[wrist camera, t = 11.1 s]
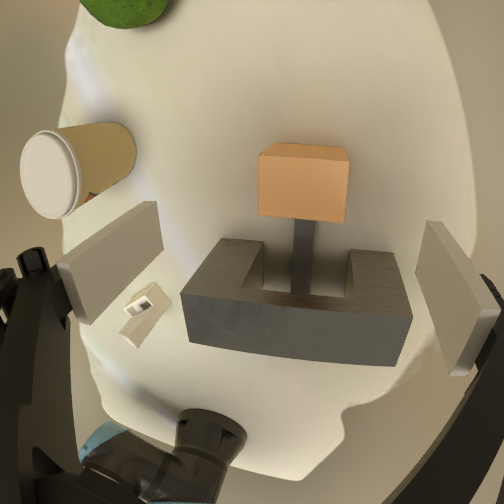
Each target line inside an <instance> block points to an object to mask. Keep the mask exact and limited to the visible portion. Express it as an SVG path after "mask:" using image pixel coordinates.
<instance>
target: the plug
mask: <svg viewBox="0 0 504 504" xmlns="http://www.w3.org/2000/svg"><path fill="white" fill-rule="evenodd" d="M348 174H349V159H348V157H347V154H346V151H345V148H343V147H333V146H321V145H307V144H291V143H274V144H273V145H271V146H270V147H269V148H267V149H266V150H265V151H263V152H262V153H261V154H259V155H258V215H259V216H271V217H283V218H295V231H294V249H293V266H292V281H291V293H297V294H307V295H308V293H309V283H310V274H311V264H312V253H313V241H314V229H315V220H316V221H326V222H336V223H344V216H345V206H346V196H347V186H348Z"/></svg>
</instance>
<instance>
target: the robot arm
mask: <svg viewBox="0 0 504 504" xmlns="http://www.w3.org/2000/svg"><path fill="white" fill-rule="evenodd" d="M163 250H164V248H163V242H162V236H161V229H160V223H159V216H158V209H157V201H144V202H142V203H140V204H139V205H137V206H136V207H134V208H133V209H131V210H129V211H128V212H126V213H125V214H123V215H122V216H120V217H119V218H117V219H116V220H114V221H113V222H111V223H110V224H108V225H107V226H105V227H104V228H102V229H101V230H99V231H98V232H97V233H95V234H94V235H92V236H91V237H89V238H88V239H87V240H85V241H84V242H82V243H81V244H79V245H78V246H77V247H75V248H74V249H73V250H71V251H70V252H68V253H67V254H66V255H64V256H63V257H62V258H60V259H59V260H58V261H56V264H55V265H54V266H53V267H51V268H50V266H49V263H48V259H47V256H46V253H45V250H44V248H43V247H35V248H31V249H28V250H26V251H24V252H22V253H21V254H20V255H18V257H17V258H16V259H17V262H18V265H19V267H20V270H21V273H22V276H23V278H17V277H16V274H15V272H14V269H12V268H6V269H4V268H3V269H1V270H0V310H1V308H2V310H3V312H4V314H5V316H6V318H7V322H6V324H5V323H4V322H3V320H2V318H1V316H0V504H216V501H217V498H218V496H219V493H220V490H221V487H222V484H223V481H224V478H225V475H226V472H227V469H228V467H229V465H230V464H231V463H232V461H233V460H234V459H235V458H236V456H237V455H238V454H239V453H240V451H241V450H242V449H243V447H244V445H245V442H246V439H247V435H246V432H245V431H244V429H243V428H242V427H241V426H239V425H238V424H237V423H235V422H234V421H232V420H231V419H229V418H227V417H224V416H222V415H220V414H217V413H214V412H210V411H206V410H200V409H189V410H186V411H183V412H182V413H181V415H180V417H179V419H178V421H177V425H176V438H175V447H174V449H173V451H172V453H171V454H170V453H168V452H166V451H164V450H162V449H160V448H159V447H157V446H155V445H153V444H151V443H150V442H148V441H146V440H144V439H143V438H141V437H139V436H137V435H136V434H134V433H132V432H131V431H130V430H129V429H125V428H123V427H121V426H120V425H118V424H116V423H114V422H106V423H104V424H102V425H101V426H100V427H99V428H98V429H97V430H96V431H95V432H94V433H93V434H92V435H91V436H90V437H89V438H88V440H87V441H86V442H85V445H83V447H82V448H81V449H80V451H79V452H78V451H77V444H76V436H75V428H74V419H73V408H72V395H71V377H70V319H69V317H68V313H69V312H70V311H71V310H72V309H73V312H74V315H75V317H76V319H77V321H78V322H81V323H84V324H87V325H91V324H92V323H93V322H94V321H95V320H96V319H97V318H98V317H99V316H100V315H101V313H102V312H103V311H104V310H105V309H106V308H107V307H108V306H109V305H110V304H111V303H112V302H113V301H114V300H115V299H116V298H117V296H118V295H119V294H120V293H121V292H122V291H123V290H124V289H125V288H126V287H127V286H128V285H129V284H130V283H131V282H132V281H133V280H134V279H135V278H136V277H137V276H138V275H139V274H140V273H141V272H142V271H143V270H144V269H145V268H146V267H147V266H148V265H149V264H150V263H151V262H152V261H153V260H154V259H155V258H156V257H157V256H158V255H159V254H160V253H161V252H162V251H163ZM415 274H416V276H417V279H418V281H419V284H420V287H421V289H422V292H423V295H424V297H425V300H426V303H427V306H428V309H429V311H430V314H431V317H432V320H433V323H434V326H435V329H436V333H437V336H438V339H439V342H440V345H441V349H442V352H443V356H444V359H445V363H446V366H447V370H448V374H449V376H466V375H468V373H469V372H470V370H471V369H472V367H473V365H474V363H475V364H476V366H477V369H478V373H477V374H476V376H475V378H474V379H473V381H472V382H471V384H470V385H469V387H468V388H467V390H466V392H465V395H464V397H463V398H462V400H461V402H460V403H459V405H458V406H457V408H456V410H455V411H454V413H453V414H452V416H451V417H450V419H449V420H448V422H447V424H446V425H445V427H444V428H443V429H442V431H441V432H440V434H439V435H438V437H437V438H436V439H435V441H434V442H433V444H432V445H431V446H430V448H429V449H428V450H427V451H426V453H425V454H424V455H423V457H422V458H421V459H420V460H419V462H418V463H417V464H416V465H415V467H414V468H413V469H412V470H411V471H410V473H409V474H408V475H407V476H406V477H405V478H404V480H403V481H402V482H401V483H400V484H399V485H398V487H396V489H395V490H394V491H393V492H392V493H391V494H390V495H389V496H388V497H387V498H386V499H385V501H383V502H382V503H381V504H469V503H470V501H471V500H472V498H473V496H474V495H475V493H476V491H477V489H478V488H479V486H480V484H481V483H482V481H483V479H484V478H485V476H486V474H487V472H488V470H489V468H490V466H491V464H492V462H493V460H494V458H495V456H496V454H497V452H498V450H499V448H500V446H501V444H502V442H503V439H504V300H503V298H501V295H500V294H499V292H498V291H497V289H496V287H495V286H494V284H493V283H492V281H491V280H489V279H488V278H487V277H486V276H485V275H483V274H479V273H478V271H477V270H476V269H475V267H474V266H473V264H472V263H471V261H470V260H469V258H468V257H467V256H466V254H465V253H464V251H463V250H462V249H461V247H460V246H459V244H458V243H457V242H456V240H455V239H454V238H453V236H452V235H451V234H450V232H449V231H448V230H447V229H446V227H445V226H444V225H443V223H442V222H439V221H431V220H427V221H426V226H425V231H424V236H423V241H422V245H421V250H420V254H419V259H418V263H417V267H416V271H415ZM138 497H140V498H142V499H144V500H146V501H148V502H147V503H145V502H144V501H142V500H141V499H140V498H138ZM496 504H504V477H503V481H502V485H501V488H500V492H499V495H498V498H497V502H496Z"/></svg>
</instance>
